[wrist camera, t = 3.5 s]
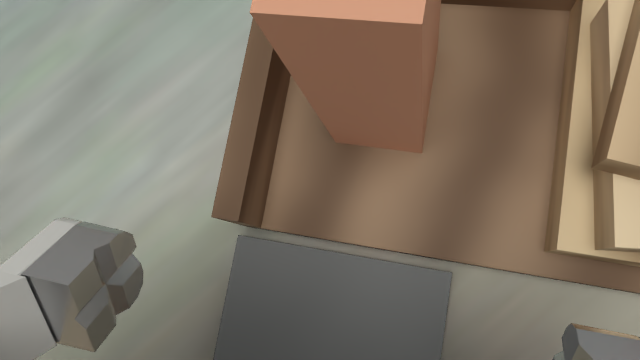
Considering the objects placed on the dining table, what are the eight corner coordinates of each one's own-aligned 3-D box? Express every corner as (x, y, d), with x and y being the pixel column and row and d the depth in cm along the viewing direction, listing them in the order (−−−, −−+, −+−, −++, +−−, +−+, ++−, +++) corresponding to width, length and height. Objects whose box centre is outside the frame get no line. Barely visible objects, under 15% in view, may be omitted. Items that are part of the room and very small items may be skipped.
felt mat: (208, 405, 23) (203, 409, 23) (242, 235, 24) (238, 234, 24) (425, 462, 21) (425, 468, 20) (451, 272, 22) (451, 272, 21)
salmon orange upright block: (335, 142, 23) (250, 12, 12) (353, 42, 24) (289, -174, 12) (422, 153, 22) (422, 24, 11) (437, 49, 23) (453, -176, 11)
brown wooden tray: (244, 225, 24) (211, 216, 21) (292, -17, 26) (270, -66, 22) (737, 310, 20) (813, 319, 16) (752, 8, 22) (823, -50, 18)
